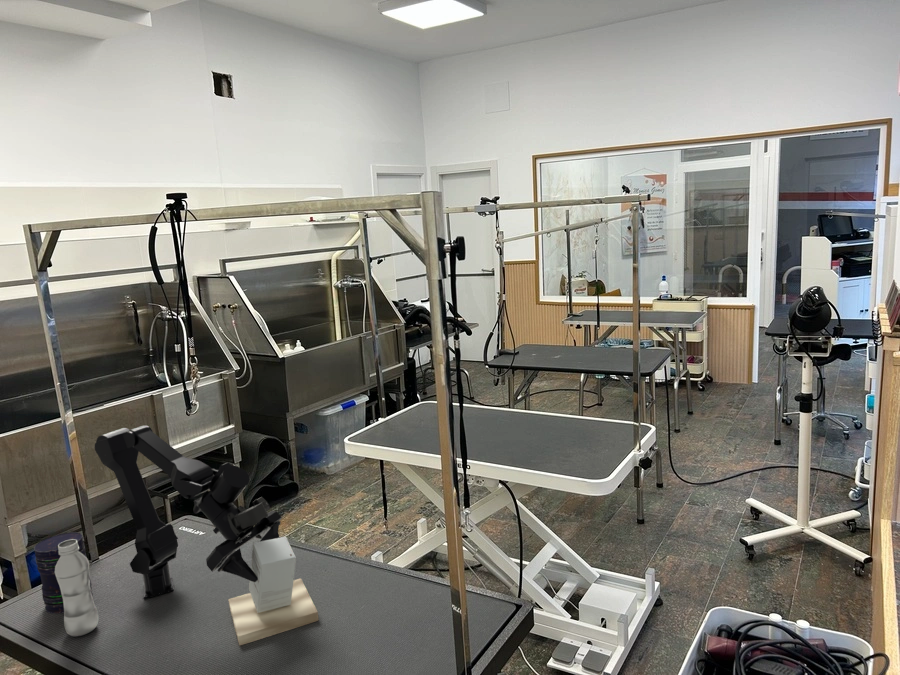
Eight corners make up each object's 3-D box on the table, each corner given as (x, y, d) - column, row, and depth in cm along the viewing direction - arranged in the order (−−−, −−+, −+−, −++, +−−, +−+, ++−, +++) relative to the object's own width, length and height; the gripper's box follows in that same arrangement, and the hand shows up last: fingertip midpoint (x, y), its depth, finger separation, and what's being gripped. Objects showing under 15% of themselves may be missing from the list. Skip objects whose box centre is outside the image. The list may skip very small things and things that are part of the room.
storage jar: (45, 599, 155) (34, 540, 152) (92, 586, 160) (82, 528, 157) (44, 619, 146) (32, 556, 144) (94, 604, 151) (83, 543, 149)
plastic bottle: (64, 644, 136) (47, 553, 133) (68, 627, 142) (52, 540, 139) (99, 634, 138) (83, 545, 135) (101, 618, 144) (86, 533, 141)
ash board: (229, 607, 145) (228, 599, 144) (301, 586, 151) (300, 578, 151) (239, 645, 130) (238, 636, 130) (318, 620, 137) (317, 611, 137)
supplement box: (281, 582, 146) (287, 535, 141) (291, 605, 140) (297, 557, 135) (247, 589, 142) (252, 541, 137) (256, 614, 136) (261, 564, 132)
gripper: (209, 510, 130) (261, 569, 127) (270, 475, 147) (316, 527, 144) (184, 542, 134) (234, 600, 131) (246, 505, 151) (290, 556, 148)
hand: (271, 569), depth 139 cm, fingers closed on supplement box, 9 cm apart
